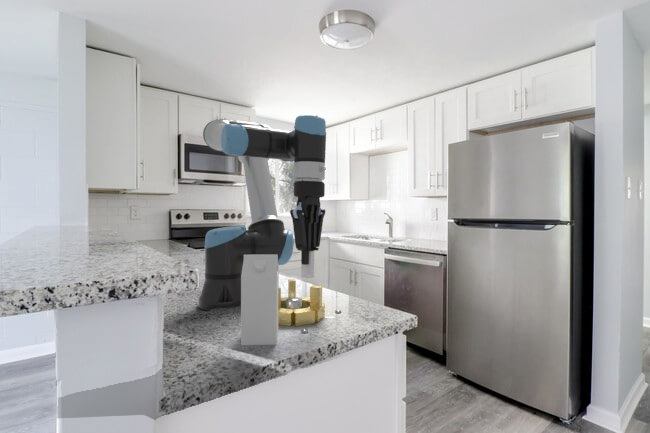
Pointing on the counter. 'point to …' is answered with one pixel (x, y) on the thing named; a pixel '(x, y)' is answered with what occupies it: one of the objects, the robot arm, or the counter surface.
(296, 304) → the flange plate
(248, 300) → the milk carton
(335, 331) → the counter surface
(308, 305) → the gold foil sensor mount
